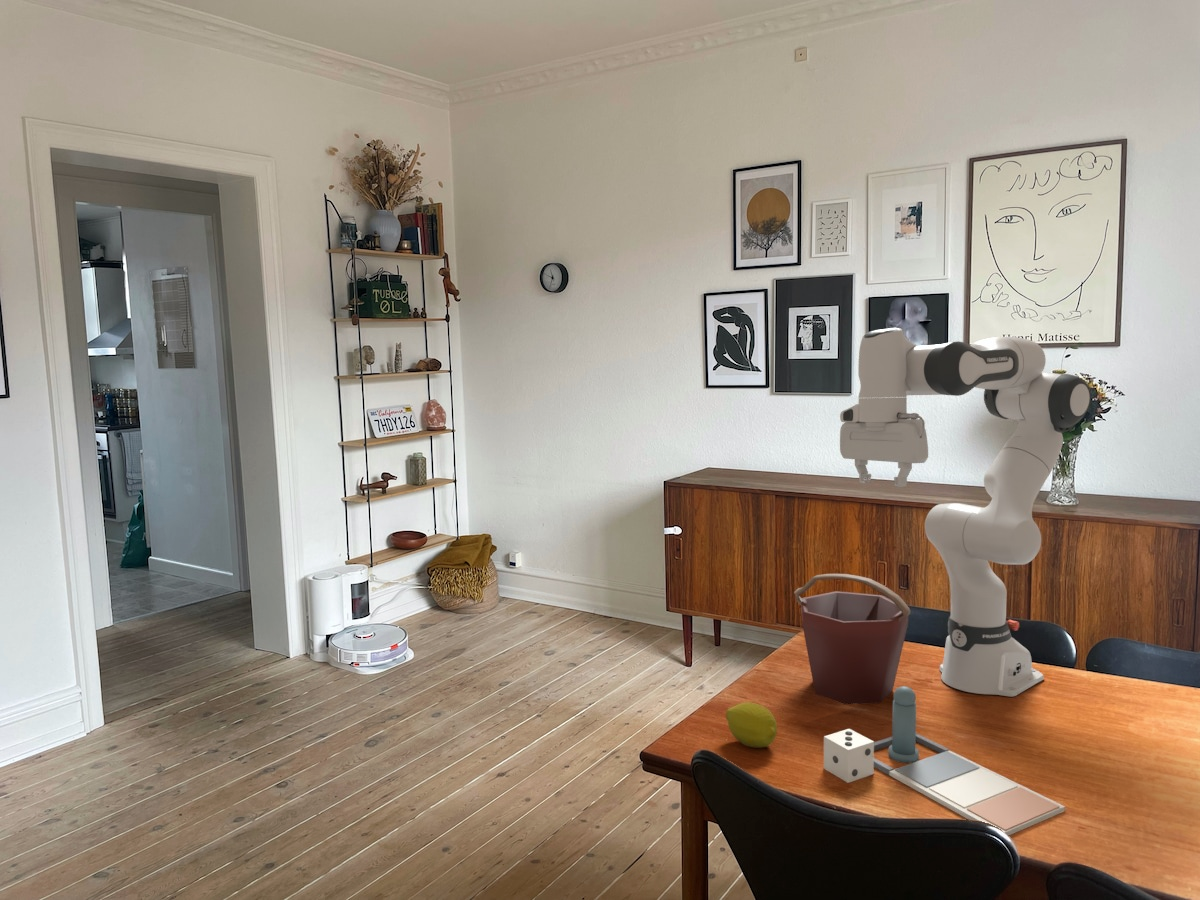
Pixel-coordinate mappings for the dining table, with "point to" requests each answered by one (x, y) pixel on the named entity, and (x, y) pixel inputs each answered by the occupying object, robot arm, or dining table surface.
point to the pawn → (904, 726)
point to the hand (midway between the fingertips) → (882, 484)
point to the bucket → (853, 640)
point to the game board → (971, 789)
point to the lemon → (752, 724)
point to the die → (848, 755)
